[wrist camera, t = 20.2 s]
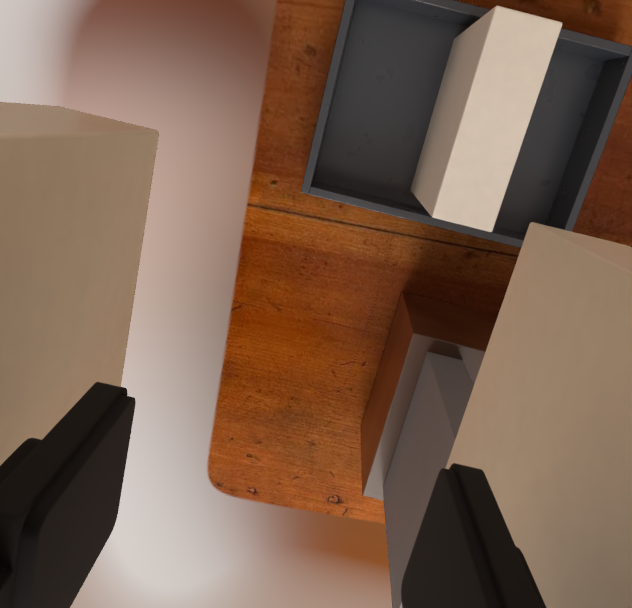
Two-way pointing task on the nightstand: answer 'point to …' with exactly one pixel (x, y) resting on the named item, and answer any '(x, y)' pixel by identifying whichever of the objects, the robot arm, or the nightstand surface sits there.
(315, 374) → the nightstand surface
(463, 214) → the white book
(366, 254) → the nightstand surface
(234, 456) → the nightstand surface
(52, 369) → the cream books
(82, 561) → the robot arm
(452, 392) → the grey book
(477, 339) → the book shelf
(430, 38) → the book tray
